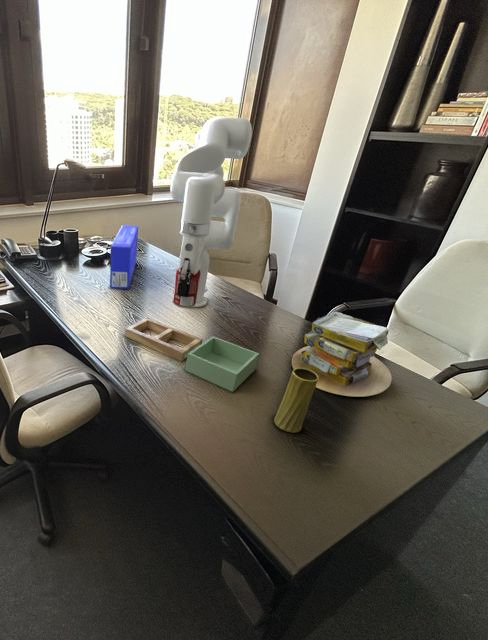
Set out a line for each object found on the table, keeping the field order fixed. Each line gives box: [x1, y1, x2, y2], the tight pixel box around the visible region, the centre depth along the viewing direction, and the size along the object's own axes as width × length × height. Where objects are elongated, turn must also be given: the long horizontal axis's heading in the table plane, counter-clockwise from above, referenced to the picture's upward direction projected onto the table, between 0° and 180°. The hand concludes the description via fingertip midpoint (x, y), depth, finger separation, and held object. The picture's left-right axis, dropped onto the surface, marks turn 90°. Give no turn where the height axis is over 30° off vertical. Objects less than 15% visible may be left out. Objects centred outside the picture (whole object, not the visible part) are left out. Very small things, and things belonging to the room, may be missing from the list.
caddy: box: [124, 317, 204, 362], centre depth 119 cm, size 12×22×3 cm, turn 49°
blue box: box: [109, 224, 139, 291], centre depth 170 cm, size 39×8×18 cm, turn 172°
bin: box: [184, 335, 260, 393], centre depth 105 cm, size 15×15×6 cm
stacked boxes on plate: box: [291, 311, 393, 398], centre depth 104 cm, size 25×25×17 cm
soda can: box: [171, 263, 201, 309], centre depth 106 cm, size 7×7×12 cm
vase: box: [273, 368, 319, 434], centre depth 84 cm, size 6×6×14 cm
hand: (185, 291), depth 107 cm, fingers closed on soda can, 6 cm apart
